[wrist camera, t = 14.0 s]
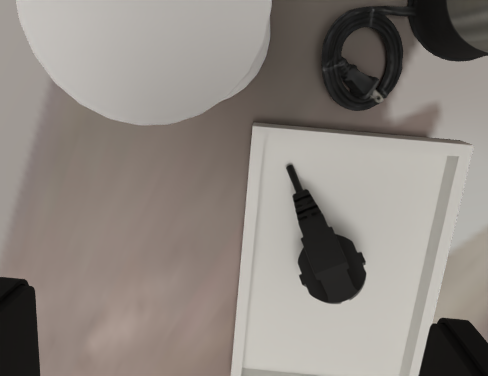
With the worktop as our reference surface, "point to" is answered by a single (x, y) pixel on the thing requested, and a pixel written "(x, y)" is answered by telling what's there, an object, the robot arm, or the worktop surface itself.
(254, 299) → the tray
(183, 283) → the worktop surface
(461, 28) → the milk frother
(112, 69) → the decorative container
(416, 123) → the worktop surface
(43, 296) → the worktop surface
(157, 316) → the worktop surface
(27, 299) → the robot arm
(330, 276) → the power plug
